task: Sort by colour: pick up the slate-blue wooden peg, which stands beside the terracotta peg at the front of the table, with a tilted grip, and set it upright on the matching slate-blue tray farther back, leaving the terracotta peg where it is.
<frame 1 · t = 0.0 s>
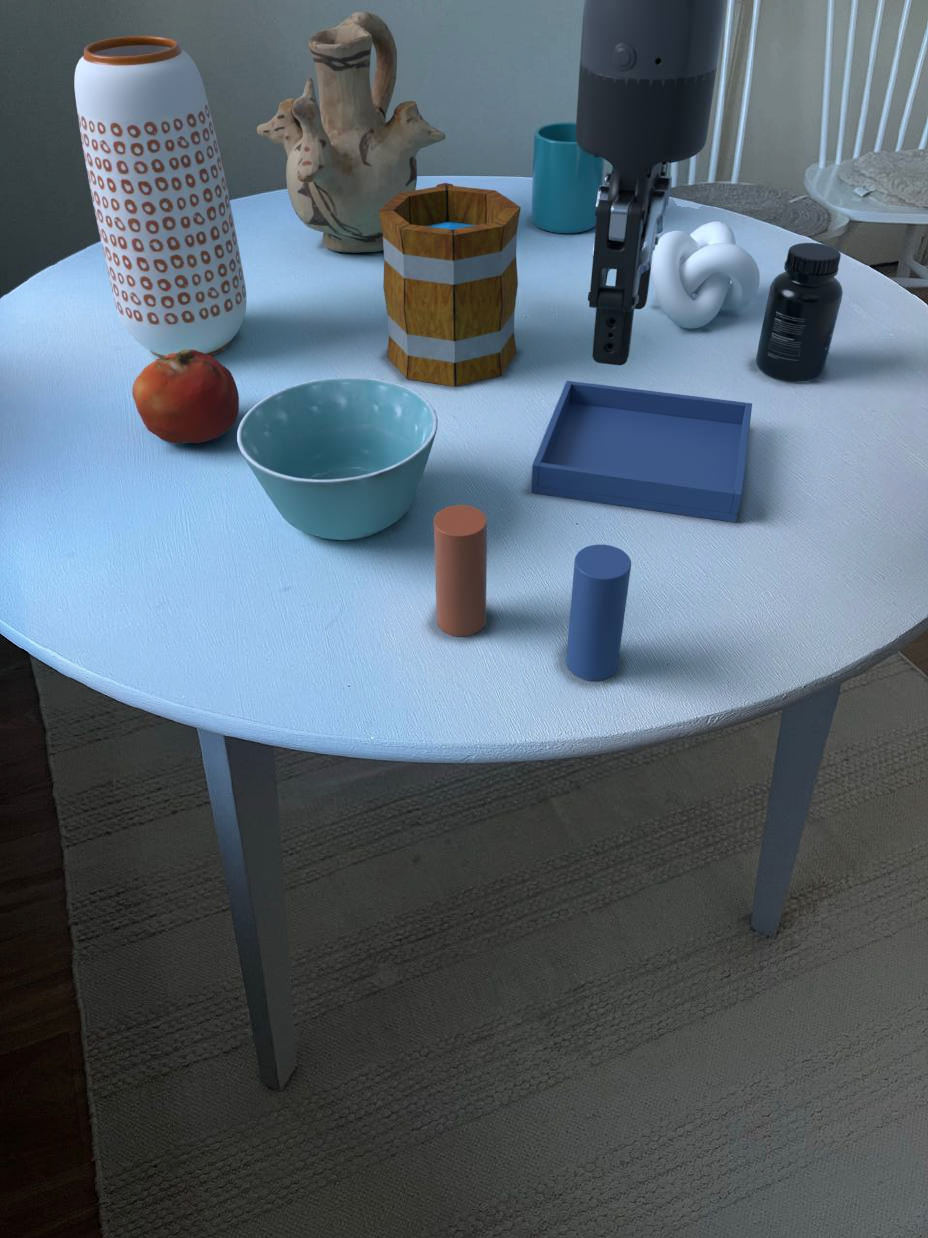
hand: (620, 332, 66), 19 cm above the table, tool pointing down, fingers open, 8 cm apart
ceramic vessel: (348, 246, 128), on the table
blue peg: (591, 662, 70), on the table
blue tray: (643, 459, 89), on the table
wooden banded barrel: (450, 343, 107), on the table
white trefoil knot: (689, 317, 112), on the table
vase: (190, 343, 108), on the table
cup: (565, 220, 134), on the table
supplement bottle: (788, 369, 102), on the table
red round fruit: (194, 435, 94), on the table
terracotta peg: (461, 620, 73), on the table
bowl: (346, 511, 84), on the table
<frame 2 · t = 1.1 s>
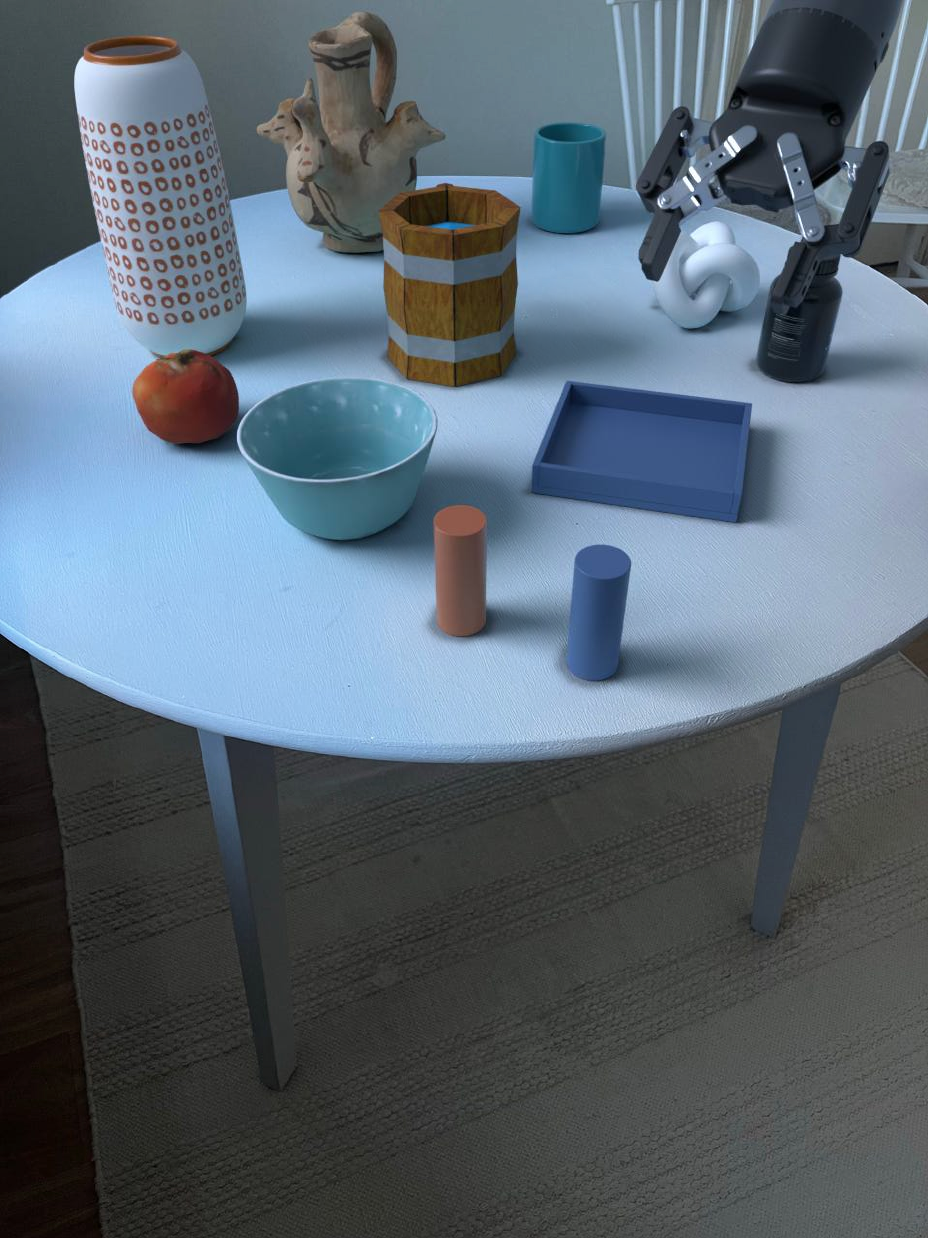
hand: (711, 291, 62), 23 cm above the table, tool tilted 45°, fingers open, 8 cm apart
nothing on the table moved.
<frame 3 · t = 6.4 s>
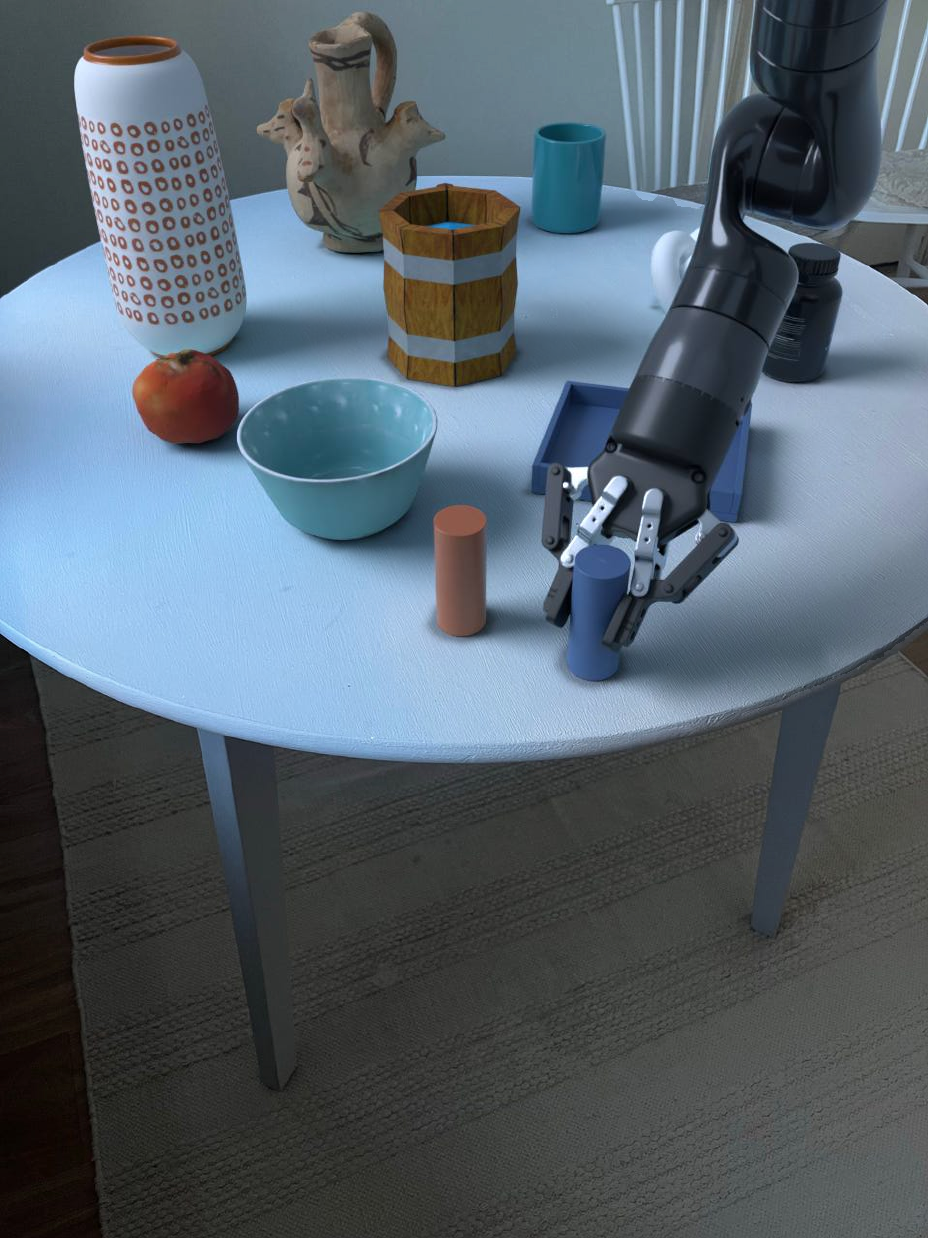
hand: (582, 636, 66), 4 cm above the table, tool tilted 45°, fingers closed on blue peg, 3 cm apart
blue peg: (592, 662, 70), on the table, touching gripper
everything else where it was.
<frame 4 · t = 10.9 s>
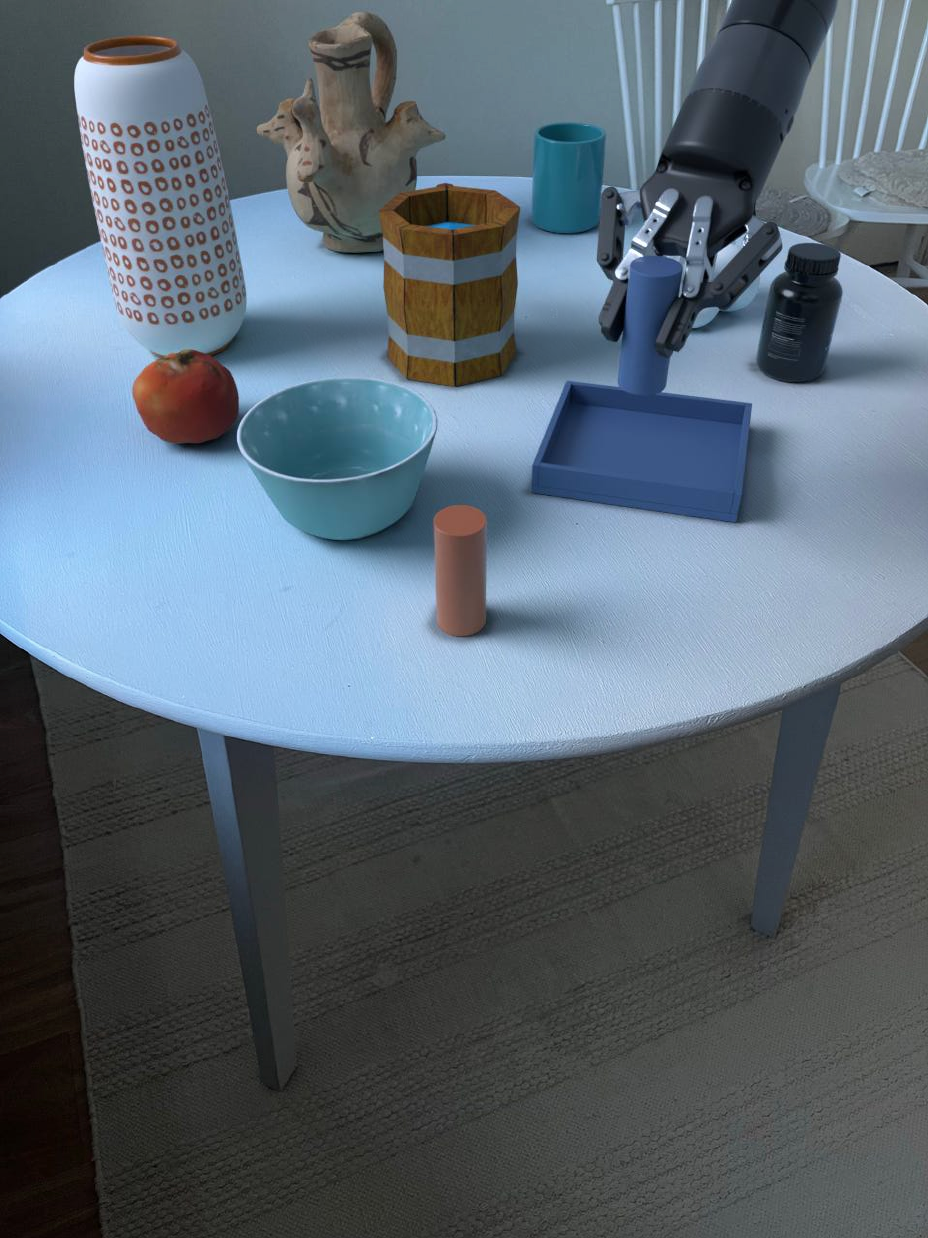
hand: (635, 344, 71), 16 cm above the table, tool tilted 45°, fingers closed on blue peg, 3 cm apart
blue peg: (641, 383, 75), point 12 cm above the table, touching gripper
everything else where it was.
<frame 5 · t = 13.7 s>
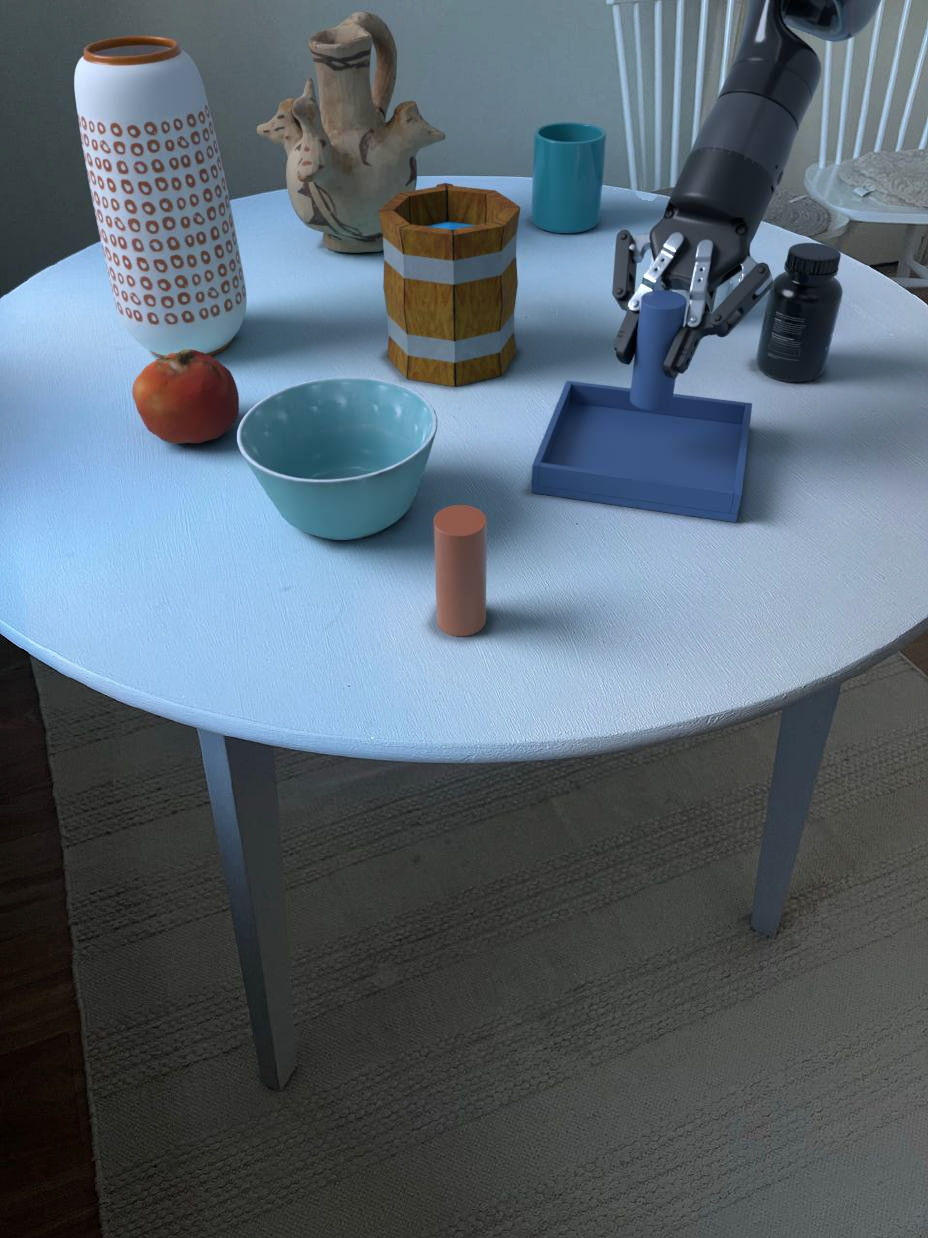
hand: (645, 366, 82), 10 cm above the table, tool tilted 45°, fingers closed on blue peg, 3 cm apart
blue peg: (650, 400, 86), point 6 cm above the table, touching gripper
everything else where it was.
when the fingers open (5 cm above the table, at t = 15.5 s): blue peg stays where it is, resting on blue tray.
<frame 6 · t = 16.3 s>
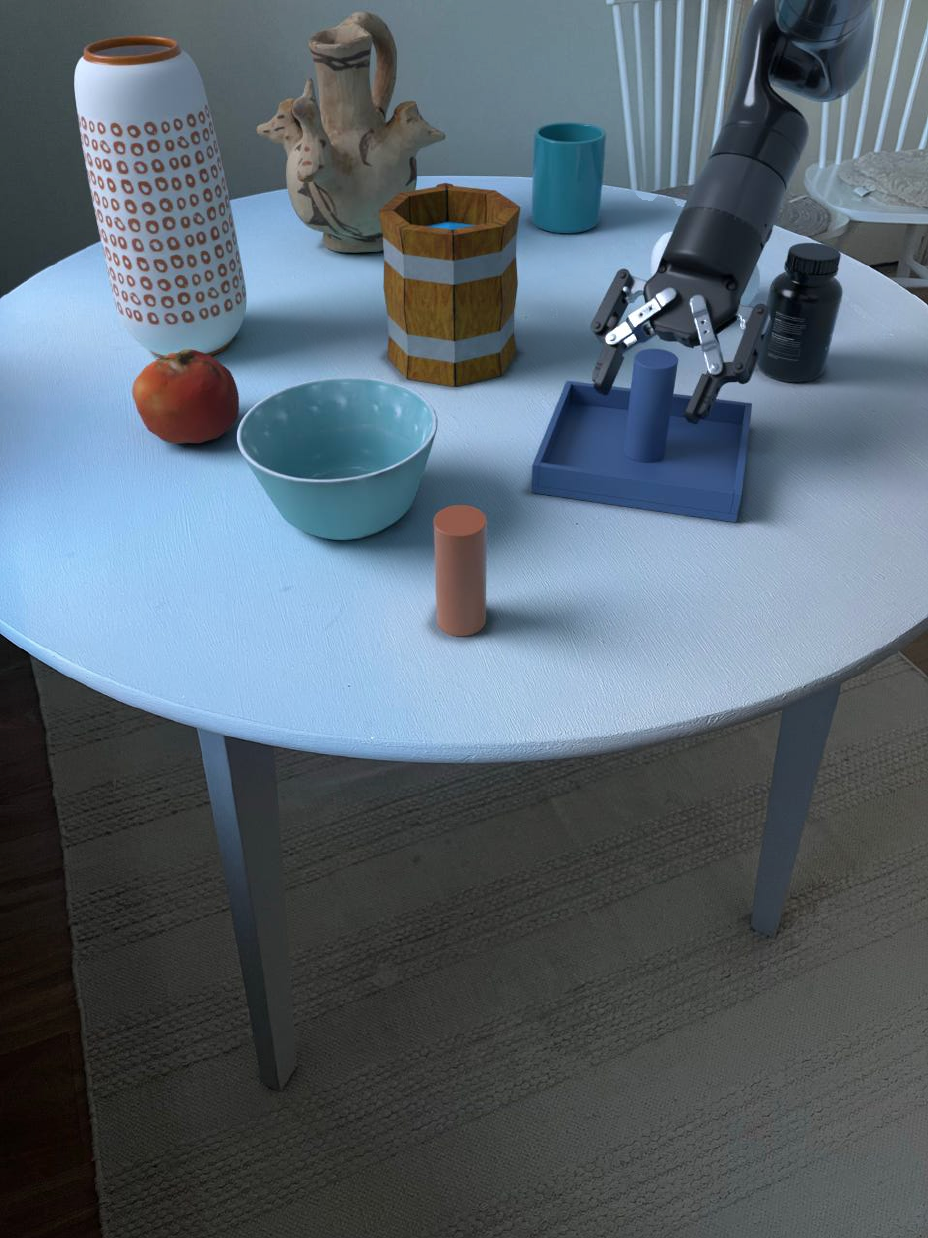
hand: (644, 405, 85), 6 cm above the table, tool tilted 45°, fingers open, 8 cm apart
blue peg: (644, 451, 89), point 1 cm above the table, touching blue tray
everything else where it was.
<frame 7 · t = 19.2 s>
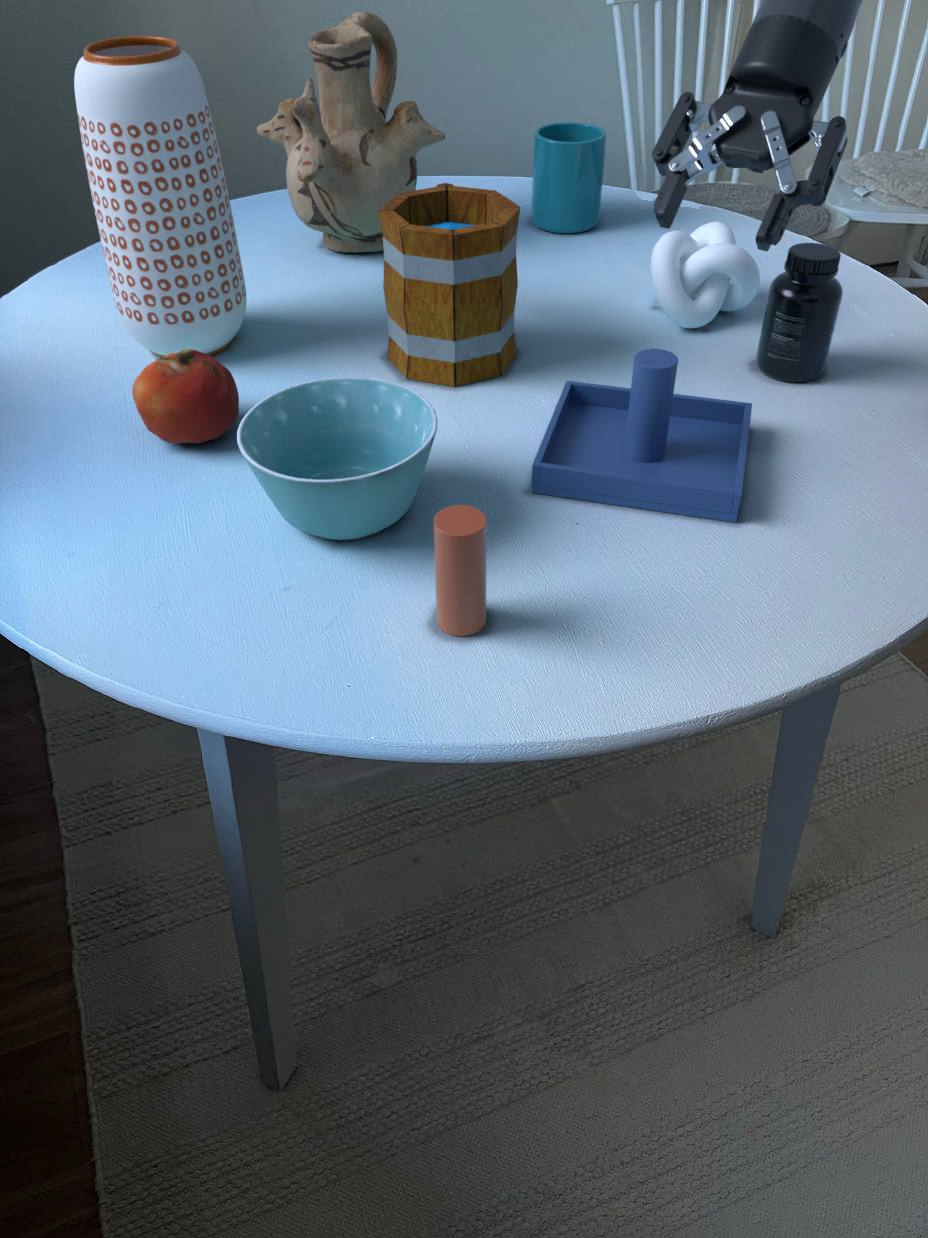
hand: (710, 234, 80), 19 cm above the table, tool tilted 45°, fingers open, 8 cm apart
nothing on the table moved.
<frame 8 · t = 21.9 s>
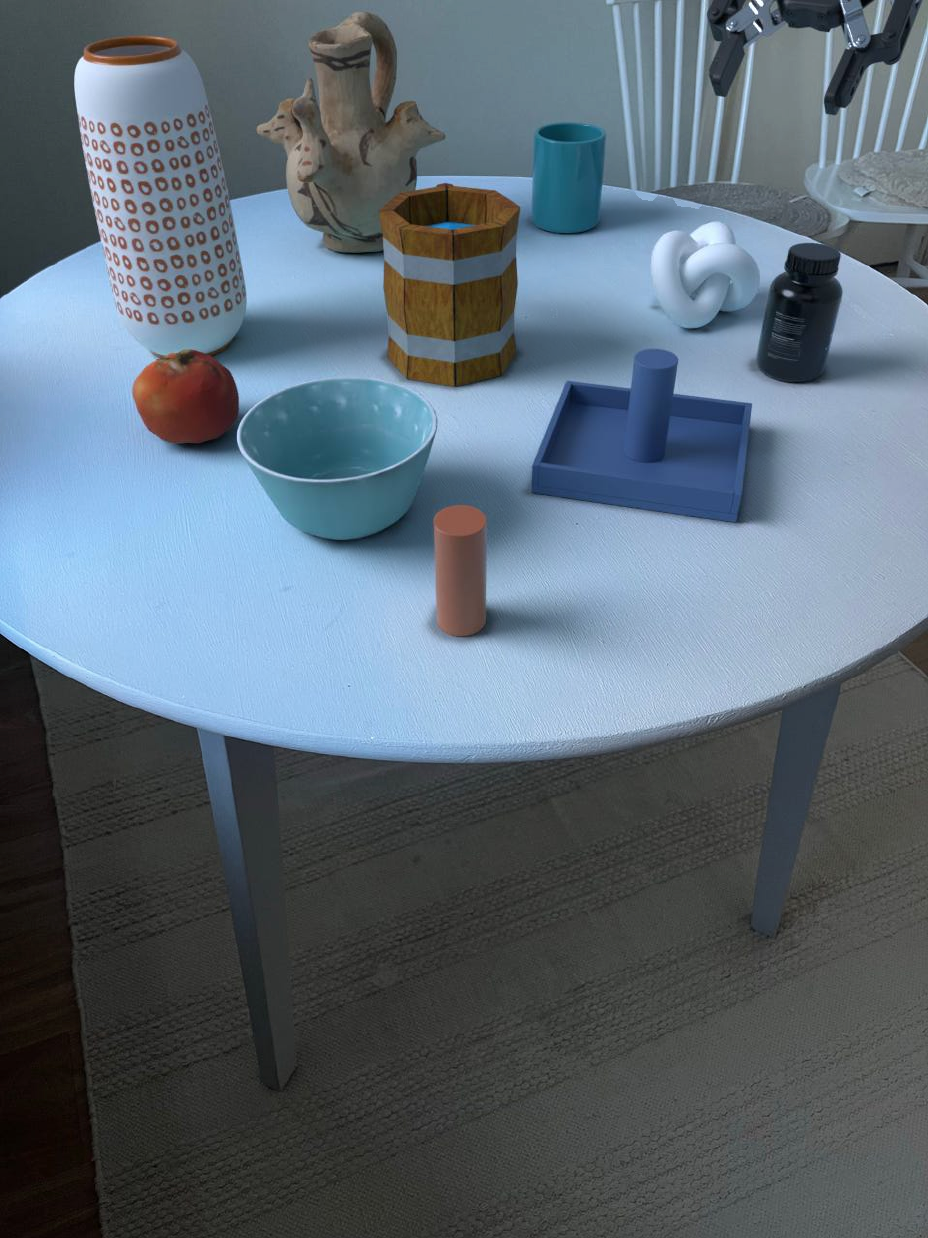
hand: (772, 98, 73), 29 cm above the table, tool tilted 45°, fingers open, 8 cm apart
nothing on the table moved.
at the end: blue peg inside the target area in the blue tray (0.1 cm from its centre), point 0.8 cm above the blue tray's base; blue peg tilted 0°; terracotta peg moved 0.0 cm from its start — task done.
